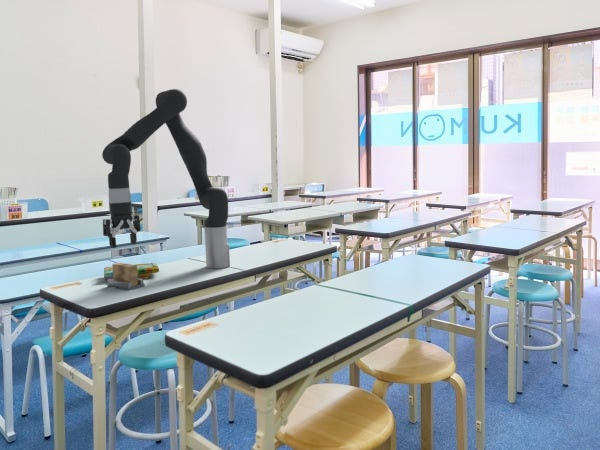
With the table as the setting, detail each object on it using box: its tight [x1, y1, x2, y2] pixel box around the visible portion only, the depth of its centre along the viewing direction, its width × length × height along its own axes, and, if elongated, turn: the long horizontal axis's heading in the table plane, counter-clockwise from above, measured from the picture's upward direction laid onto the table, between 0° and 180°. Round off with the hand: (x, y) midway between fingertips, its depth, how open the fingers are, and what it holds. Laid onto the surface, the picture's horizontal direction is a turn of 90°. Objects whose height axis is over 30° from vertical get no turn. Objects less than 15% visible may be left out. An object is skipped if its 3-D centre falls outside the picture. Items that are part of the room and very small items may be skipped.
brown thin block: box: [111, 262, 138, 286], centre depth 185 cm, size 10×3×7 cm, turn 56°
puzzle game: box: [103, 262, 160, 282], centre depth 201 cm, size 12×5×20 cm
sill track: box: [106, 278, 145, 292], centre depth 186 cm, size 12×7×3 cm, turn 56°
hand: (123, 245), depth 184 cm, fingers open, 8 cm apart
